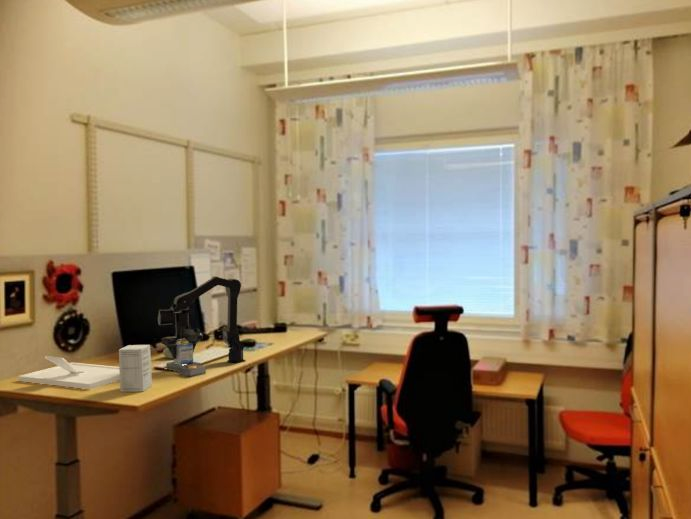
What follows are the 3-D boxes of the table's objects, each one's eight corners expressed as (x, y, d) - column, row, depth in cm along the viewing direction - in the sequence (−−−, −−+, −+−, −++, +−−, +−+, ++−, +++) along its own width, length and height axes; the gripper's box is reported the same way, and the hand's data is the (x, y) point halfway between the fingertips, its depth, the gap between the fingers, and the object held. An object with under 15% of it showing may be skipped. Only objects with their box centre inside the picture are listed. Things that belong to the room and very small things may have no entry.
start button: (193, 369, 253) (193, 365, 253) (198, 370, 251) (198, 366, 251) (186, 371, 250) (186, 366, 250) (191, 372, 248) (191, 368, 248)
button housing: (194, 371, 256) (193, 364, 256) (205, 373, 251) (205, 366, 251) (179, 374, 250) (178, 367, 250) (190, 377, 245) (190, 370, 245)
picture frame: (89, 391, 227) (139, 375, 252) (88, 360, 226) (138, 347, 252) (18, 383, 242) (71, 368, 267) (17, 353, 242) (71, 342, 267)
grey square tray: (184, 363, 271) (184, 358, 271) (203, 367, 263) (203, 362, 263) (163, 368, 262) (162, 363, 262) (182, 372, 253) (181, 367, 253)
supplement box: (152, 385, 232) (151, 344, 231) (143, 391, 223) (142, 348, 222) (129, 385, 232) (128, 344, 232) (119, 392, 223) (118, 349, 222)
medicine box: (180, 365, 258) (179, 346, 257) (173, 364, 260) (173, 345, 260) (193, 361, 264) (193, 343, 264) (186, 360, 267) (186, 342, 266)
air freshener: (161, 359, 281) (160, 339, 281) (166, 356, 290) (165, 336, 289) (183, 359, 282) (183, 339, 281) (187, 355, 290) (187, 336, 290)
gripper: (175, 327, 249) (176, 363, 250) (209, 322, 264) (210, 355, 265) (160, 325, 256) (161, 360, 257) (194, 320, 271) (195, 352, 271)
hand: (183, 357), depth 262 cm, fingers open, 9 cm apart
